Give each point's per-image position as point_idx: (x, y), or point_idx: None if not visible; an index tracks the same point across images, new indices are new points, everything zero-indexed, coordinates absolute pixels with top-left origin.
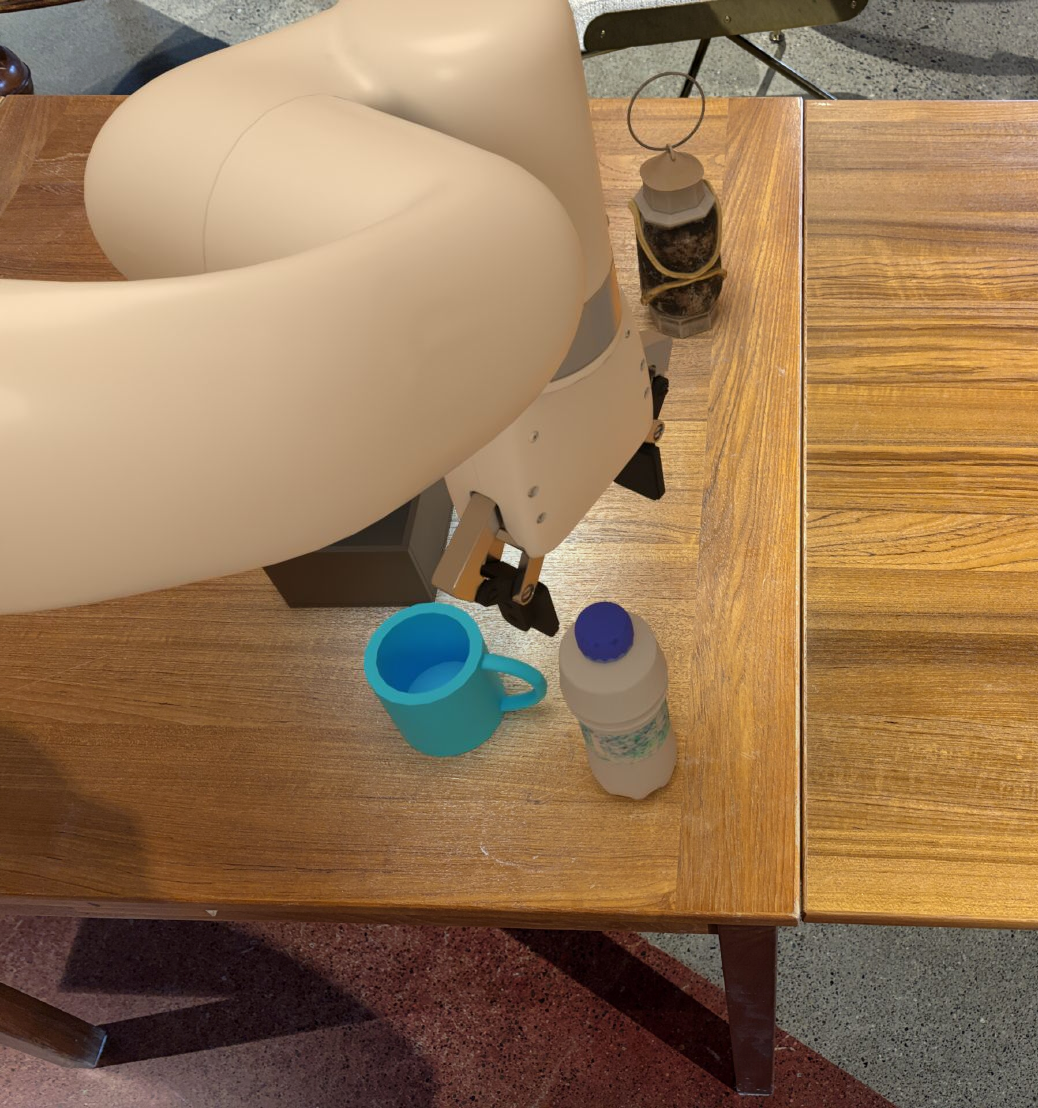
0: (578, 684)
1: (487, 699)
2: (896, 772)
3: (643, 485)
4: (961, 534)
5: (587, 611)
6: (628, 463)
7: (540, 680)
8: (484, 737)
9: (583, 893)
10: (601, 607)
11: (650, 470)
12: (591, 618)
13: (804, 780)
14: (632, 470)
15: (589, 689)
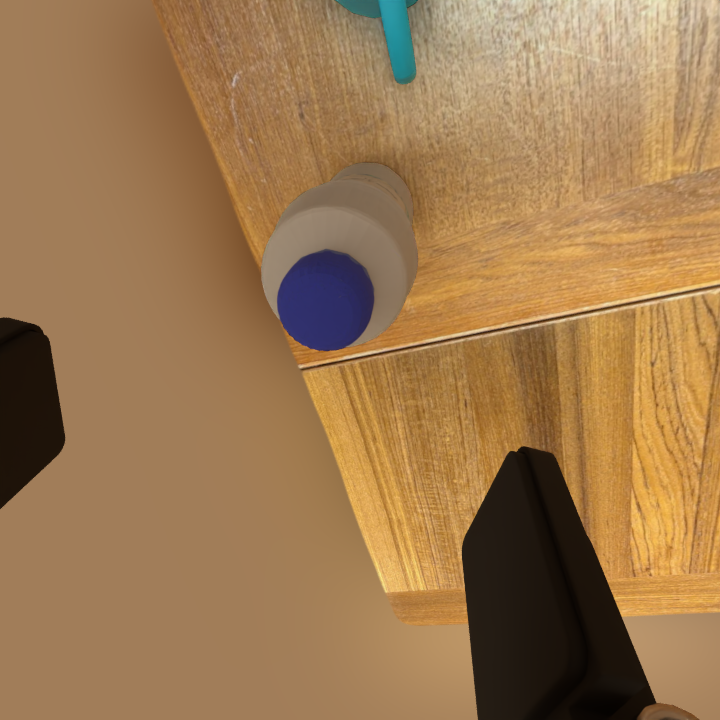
0: (264, 262)
1: (365, 2)
2: (422, 412)
3: (478, 562)
4: (678, 431)
5: (329, 286)
6: (506, 611)
7: (401, 78)
8: (347, 8)
9: (240, 202)
10: (344, 307)
11: (474, 676)
12: (316, 300)
13: (397, 352)
14: (496, 591)
15: (263, 280)
